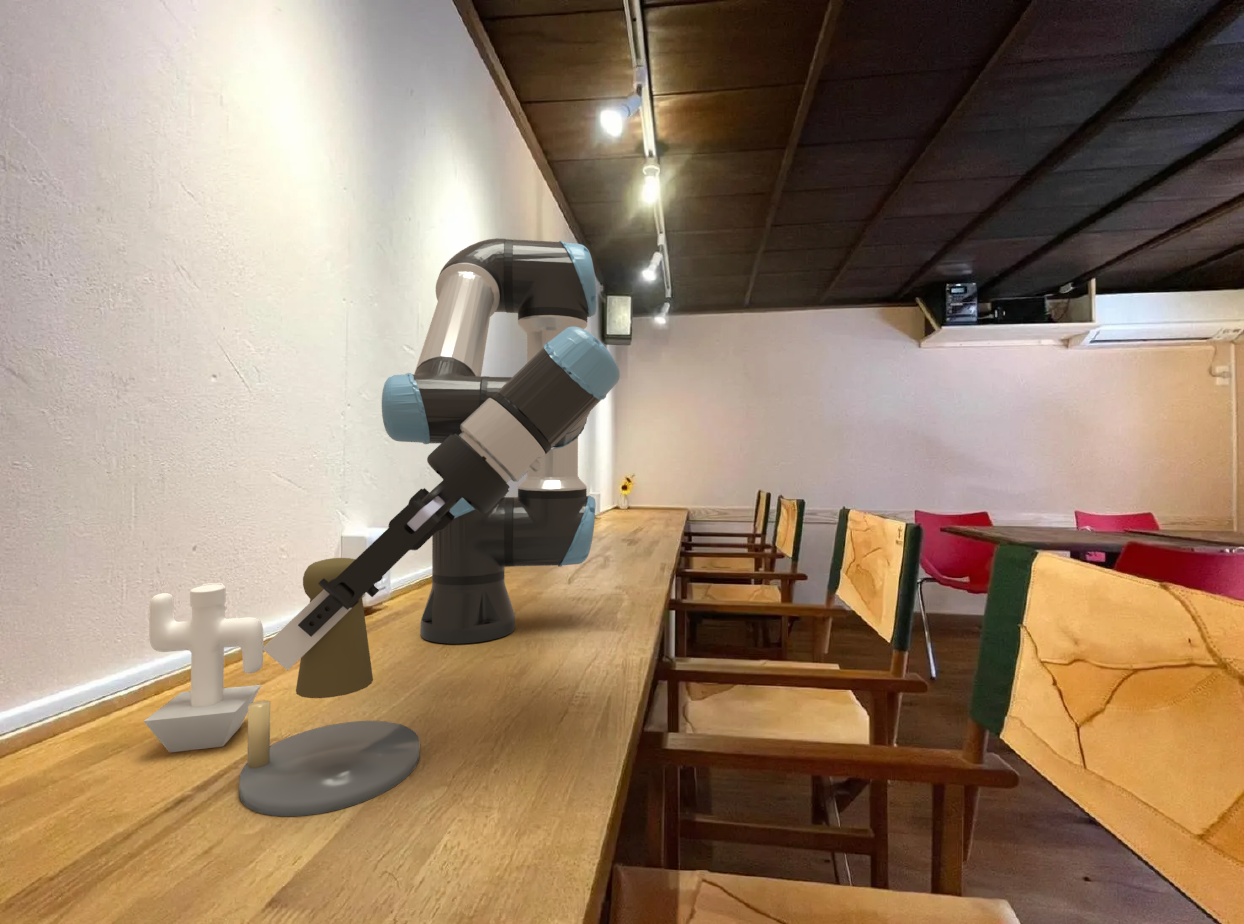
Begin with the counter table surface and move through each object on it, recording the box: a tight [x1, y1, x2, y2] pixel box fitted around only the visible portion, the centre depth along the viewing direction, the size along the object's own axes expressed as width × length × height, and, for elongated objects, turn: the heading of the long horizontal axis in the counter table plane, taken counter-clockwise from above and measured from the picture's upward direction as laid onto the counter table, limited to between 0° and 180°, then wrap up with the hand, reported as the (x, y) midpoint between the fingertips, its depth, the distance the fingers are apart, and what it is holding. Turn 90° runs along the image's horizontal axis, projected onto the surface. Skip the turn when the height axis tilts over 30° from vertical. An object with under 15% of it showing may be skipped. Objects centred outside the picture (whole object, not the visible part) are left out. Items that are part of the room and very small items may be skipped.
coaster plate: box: [238, 700, 421, 817], centre depth 50 cm, size 14×14×6 cm
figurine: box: [143, 582, 264, 753], centre depth 56 cm, size 7×9×15 cm
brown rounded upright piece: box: [295, 557, 374, 699], centre depth 50 cm, size 6×6×11 cm
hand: (288, 647), depth 49 cm, fingers closed on brown rounded upright piece, 5 cm apart
